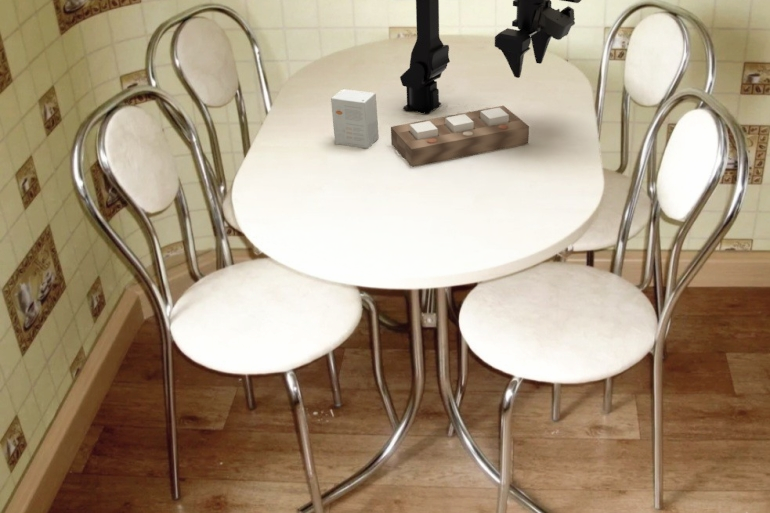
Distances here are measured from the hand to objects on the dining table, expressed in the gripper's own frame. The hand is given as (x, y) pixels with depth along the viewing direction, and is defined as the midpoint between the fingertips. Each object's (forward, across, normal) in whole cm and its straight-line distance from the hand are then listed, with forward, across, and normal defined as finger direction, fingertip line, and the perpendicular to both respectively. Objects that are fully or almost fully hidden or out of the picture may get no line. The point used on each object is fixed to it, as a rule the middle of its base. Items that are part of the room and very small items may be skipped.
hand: (528, 70), depth 196 cm
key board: (+14, -12, +9) cm, 21 cm away
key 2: (+12, -5, +5) cm, 14 cm away
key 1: (+12, -18, +14) cm, 26 cm away
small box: (+15, -22, +29) cm, 39 cm away
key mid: (+12, -12, +9) cm, 19 cm away
